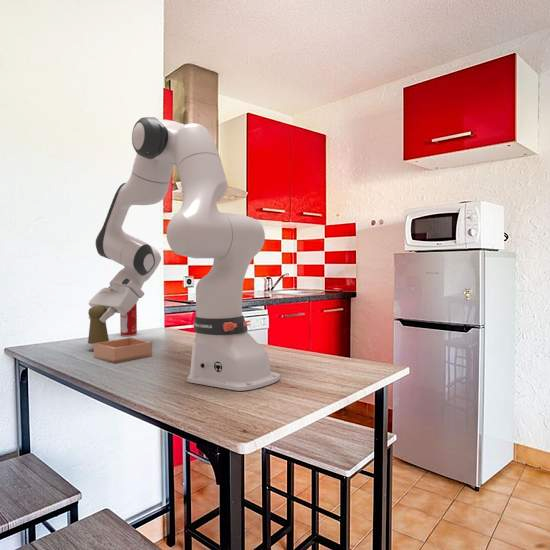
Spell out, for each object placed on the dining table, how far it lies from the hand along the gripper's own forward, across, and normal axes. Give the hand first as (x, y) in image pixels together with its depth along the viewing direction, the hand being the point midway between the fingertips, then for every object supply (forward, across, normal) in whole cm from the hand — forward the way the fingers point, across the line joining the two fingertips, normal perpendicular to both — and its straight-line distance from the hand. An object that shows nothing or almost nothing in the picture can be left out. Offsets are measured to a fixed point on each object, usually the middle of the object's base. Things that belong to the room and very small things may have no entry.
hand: (95, 320), depth 134 cm
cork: (+4, 0, +5) cm, 7 cm away
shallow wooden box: (+6, +14, +7) cm, 17 cm away
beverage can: (-8, -17, +21) cm, 28 cm away
